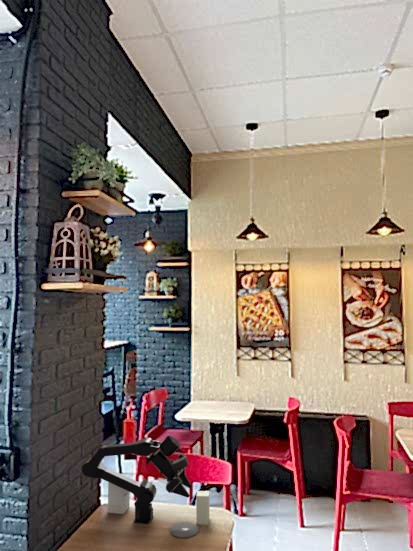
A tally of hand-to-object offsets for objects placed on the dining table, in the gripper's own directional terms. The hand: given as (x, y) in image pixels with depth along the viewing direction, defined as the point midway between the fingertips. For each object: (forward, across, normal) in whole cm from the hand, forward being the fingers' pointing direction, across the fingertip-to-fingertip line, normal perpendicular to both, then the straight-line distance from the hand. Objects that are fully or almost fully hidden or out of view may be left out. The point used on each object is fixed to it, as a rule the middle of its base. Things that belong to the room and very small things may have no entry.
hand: (190, 492), depth 183 cm
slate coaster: (+7, -8, +9) cm, 14 cm away
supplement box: (-14, +9, +31) cm, 35 cm away
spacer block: (+12, 0, +4) cm, 13 cm away
